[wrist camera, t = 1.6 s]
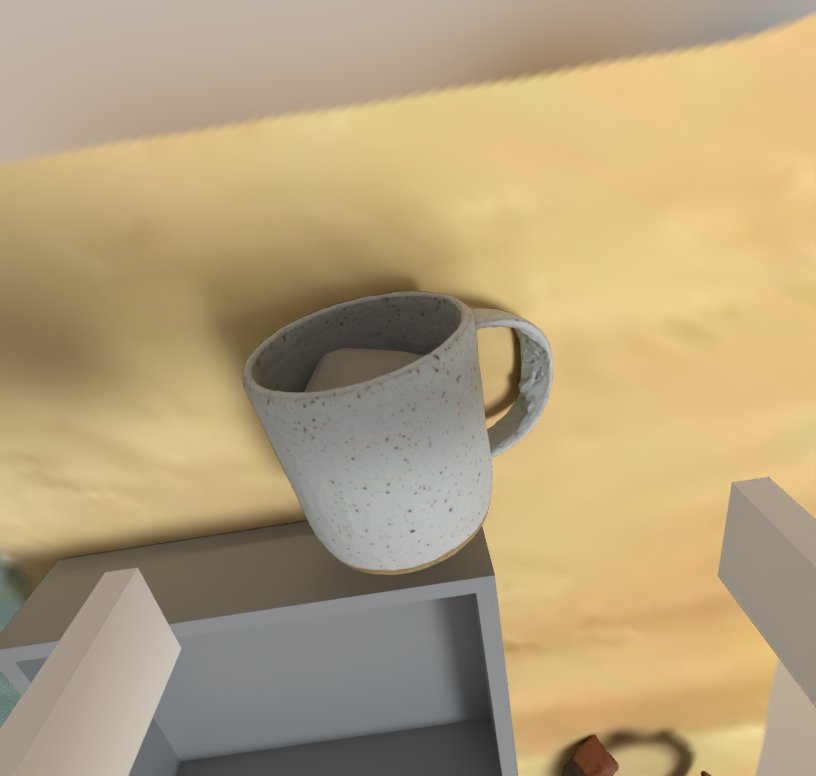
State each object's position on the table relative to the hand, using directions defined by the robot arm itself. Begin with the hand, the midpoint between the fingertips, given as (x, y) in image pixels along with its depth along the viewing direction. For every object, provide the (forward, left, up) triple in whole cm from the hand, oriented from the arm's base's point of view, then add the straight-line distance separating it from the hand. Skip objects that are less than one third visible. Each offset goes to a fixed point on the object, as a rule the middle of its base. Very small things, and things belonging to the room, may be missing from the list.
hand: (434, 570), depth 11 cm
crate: (-8, -15, -11) cm, 20 cm away
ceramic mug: (0, 0, -11) cm, 11 cm away
